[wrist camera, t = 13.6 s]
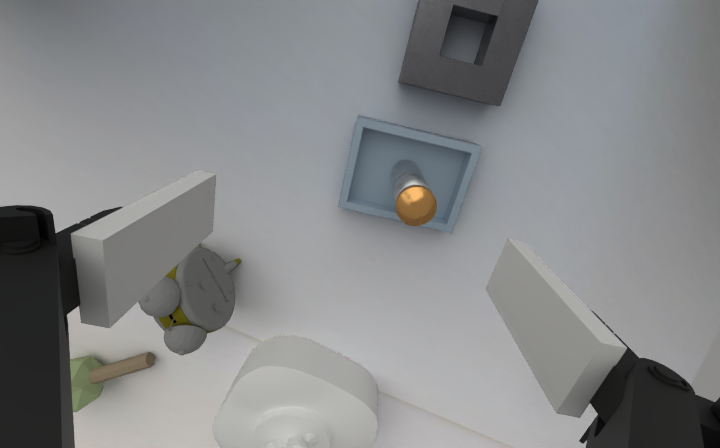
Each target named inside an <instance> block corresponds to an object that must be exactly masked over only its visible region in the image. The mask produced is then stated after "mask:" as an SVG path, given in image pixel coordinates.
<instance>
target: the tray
mask: <svg viewBox="0 0 720 448" xmlns="http://www.w3.org/2000/svg"><path fill="white" fill-rule="evenodd" d="M481 150H482V147H481V146H479V145H477V144H475V143H471V142H467V141H463V140H459V139H454V138H450V137H446V136H442V135H438V134H434V133H430V132H426V131H421V130H417V129H413V128H409V127H405V126H401V125H397V124H392V123H388V122H384V121H380V120H376V119H372V118H368V117H364V116H359V115H358V117H357V121H356V126H355V130H354V135H353V140H352V144H351V149H350V154H349V158H348V163H347V168H346V172H345V177H344V182H343V186H342V191H341V196H340V200H339V205H338V207H340V208H344V209H349V210H353V211H357V212H362V213H366V214H370V215H375V216H379V217H383V218H388V219H392V220H396V221H401V222H403V221H402V220H401V219H400V218H399V217H398V215H397V212H396V206H395V200H394V194H393V187H392V181H391V170H392V168H393V166H394V165H395V164H396V163H397V162H399V161H401V160H411V161H413V162H415V163H416V164H417V166H418V167H419V169H420V171H421V173H422V175H423V176H424V178H425V180H426V182H427V184H428V186H429V187H430V189H431V191H432V193H433V195H434V197H435V199H436V202H437V210H436V213H435V215H434V217H433V218H432V219H431V220H430V221H429V222H427V223H426V224H423V225H420V226H422V227H427V228H431V229H435V230H440V231H444V232H449V233H452V231H453V228H454V225H455V222H456V219H457V217H458V214H459V211H460V208H461V206H462V203H463V200H464V197H465V194H466V192H467V189H468V186H469V183H470V180H471V178H472V175H473V172H474V169H475V166H476V164H477V161H478V158H479V155H480V153H481Z"/></svg>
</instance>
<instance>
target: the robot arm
mask: <svg viewBox="0 0 720 448" xmlns="http://www.w3.org/2000/svg"><path fill="white" fill-rule="evenodd" d="M215 186H216V174H215V173H210V172H206V171H201V170H197V171H195V172H193V173H191V174H189V175H187V176H185V177H183V178H181V179H179V180H177V181H175V182H173V183H171V184H169V185H167V186H165V187H163V188H161V189H159V190H157V191H155V192H153V193H151V194H149V195H147V196H145V197H143V198H141V199H139V200H137V201H135V202H133V203H131V204H129V205H127V206H125V207H118V208H113V209H109V210H105V211H102V212H100V213H98V214H96V215H93V216H91V217H90V219H89V218H87V219H85V220H83V221H81V222H80V223H79V224H78V223H77V224H75V225H72V226H70V227H68V228H66V229H64V230H62V231H60V232H58V233H56V234H55V227H54V220H53V214H52V213H51V211H50V210H47V209H45V208H42V207H36V206H22V205H15V206H4V207H0V448H75V443H74V425H73V406H72V388H71V370H70V351H69V333H68V321H67V314H68V313H70V312H71V311H72V310H74V309H75V308H76V307H78V306H79V309H80V317H81V323H85V324H90V325H95V326H101V327H106V328H110V327H111V326H112V325H114V324H115V323H116V322H117V321H118V320H119V319H120V318H121V317H122V316H123V315H124V314H125V313H126V312H127V311H128V310H130V309H131V308H132V307H133V306H134V305H135V304H136V303H137V302H138V301H139V300H140V299H141V298H142V297H143V296H144V295H145V294H147V293H148V292H149V291H150V290H151V289H152V288H153V287H154V286H155V285H156V284H157V283H158V282H159V281H160V280H161V279H163V278H164V277H165V276H166V275H167V274H168V273H169V272H170V271H171V270H172V269H173V268H174V267H175V266H176V265H177V264H178V263H180V262H181V261H182V260H183V259H184V258H185V257H186V256H187V255H188V254H189V253H190V252H191V251H192V250H193V249H194V248H195V247H197V246H198V245H199V244H200V243H201V242H202V241H203V240H204V239H205V238H206V237H207V236H208V235H209V234H210V233H211V232H213V219H214V202H215ZM486 290H487V292H488V294H489V296H490V298H491V299H492V301H493V303H494V305H495V306H496V308H497V310H498V312H499V313H500V315H501V317H502V319H503V320H504V322H505V324H506V326H507V328H508V329H509V331H510V333H511V335H512V336H513V338H514V340H515V342H516V343H517V345H518V347H519V349H520V351H521V352H522V354H523V356H524V358H525V359H526V361H527V363H528V365H529V366H530V368H531V370H532V372H533V374H534V375H535V377H536V379H537V381H538V382H539V384H540V386H541V388H542V389H543V391H544V393H545V395H546V396H547V398H548V400H549V402H550V404H551V405H552V407H553V409H554V411H555V412H556V413H558V414H563V415H568V416H574V417H579V418H580V417H581V415H582V414H583V412H584V411H585V409H586V408H587V406H588V405H589V404H590V403H591V405H592V406H593V408H594V409H595V411H596V412H597V413H598V415H597V417H596V418H595V419H594V421H593V422H592V424H591V425H590V426H589V428H588V429H587V431H586V432H585V433H584V435H583V436H582V438H581V439H580V440H579V441H580V442H581V443H584V442H585V441H586V440H587V444H586V448H720V398H719V399H718V400H717V401H716V402H713V401H710V400H708V399H705V398H703V397H700V396H698V395H695V392H694V390H693V388H692V387H691V386H690V384H689V383H688V382H687V381H686V380H685V379H683V378H682V377H681V376H680V375H678V374H677V373H676V372H674V371H673V370H671V369H669V368H668V367H666V366H664V365H662V364H660V363H658V362H655V361H653V360H649V359H646V358H639V357H638V356H637V355H636V354H635V353H634V352H633V351H632V350H631V349H630V348H629V347H628V346H627V345H626V344H625V343H624V342H623V341H622V340H621V339H620V338H619V337H618V336H617V335H616V334H613V331H612V330H611V329H610V328H609V327H608V326H607V325H605V323H604V322H603V321H602V320H601V319H600V318H599V317H598V316H597V315H596V314H595V313H594V312H593V311H591V310H590V309H589V308H588V307H587V306H586V305H585V304H584V303H583V302H582V301H581V300H580V299H579V298H578V297H577V296H576V295H575V294H574V293H573V292H572V291H571V290H570V289H569V288H568V287H567V286H566V285H565V284H564V283H563V282H562V281H561V280H560V279H559V278H558V277H557V276H556V274H555V273H554V272H553V271H552V270H551V269H550V268H549V267H548V266H547V265H546V264H545V263H544V262H543V261H542V260H541V259H540V258H539V257H538V256H537V255H536V254H535V253H534V252H533V251H532V250H531V249H530V248H529V247H528V246H527V245H526V244H525V243H524V242H522V241H517V240H513V239H507V241H506V244H505V246H504V248H503V250H502V253H501V255H500V257H499V260H498V262H497V264H496V266H495V269H494V271H493V273H492V276H491V278H490V280H489V282H488V285H487V287H486Z"/></svg>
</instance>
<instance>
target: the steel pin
mask: <svg viewBox="0 0 720 448" xmlns="http://www.w3.org/2000/svg"><path fill="white" fill-rule="evenodd" d="M391 181H392V187H393V194H394V200H395V206H396V212H397V215H398V217H399V218H400V219H401V220H402V221H403V222H404V223H406V224H408V225H411V226H420V225H423V224H426V223H427V222H429V221H430V220H431V219H432V218H433V217H434V215H435V213H436V210H437V202H436V199H435V197H434V195H433V193H432V191H431V189H430V187H429V186H428V184H427V182H426V180H425V178H424V176H423V175H422V173H421V171H420V169H419V167H418V166H417V164H416V163H415V162H413V161H411V160H401V161H399V162H397V163H396V164H395V165H394V166H393V168H392V170H391Z"/></svg>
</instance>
